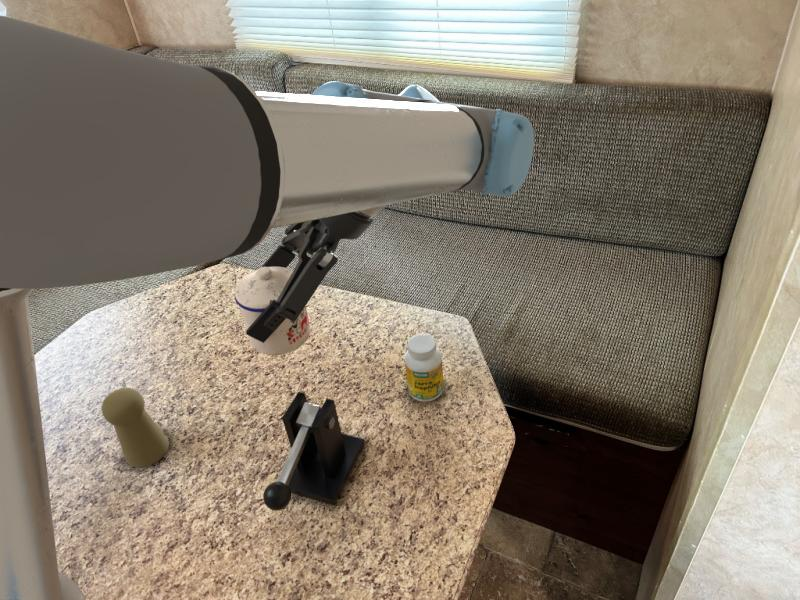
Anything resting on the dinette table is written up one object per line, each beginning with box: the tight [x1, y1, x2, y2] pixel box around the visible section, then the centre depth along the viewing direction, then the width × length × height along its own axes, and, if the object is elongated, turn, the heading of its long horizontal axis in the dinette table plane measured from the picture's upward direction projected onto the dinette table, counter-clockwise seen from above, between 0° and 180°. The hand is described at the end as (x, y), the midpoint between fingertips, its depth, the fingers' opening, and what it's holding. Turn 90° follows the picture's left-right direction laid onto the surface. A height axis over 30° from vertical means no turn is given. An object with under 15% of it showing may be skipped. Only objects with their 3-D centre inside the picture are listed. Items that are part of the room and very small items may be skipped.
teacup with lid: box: [234, 266, 312, 356], centre depth 84 cm, size 12×9×12 cm
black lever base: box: [281, 391, 366, 506], centre depth 78 cm, size 10×8×12 cm
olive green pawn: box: [101, 387, 170, 468], centre depth 83 cm, size 6×6×11 cm
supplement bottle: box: [404, 333, 445, 403], centre depth 88 cm, size 5×5×10 cm
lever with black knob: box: [262, 402, 322, 512], centre depth 73 cm, size 13×3×3 cm, turn 160°
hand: (259, 307), depth 85 cm, fingers closed on teacup with lid, 12 cm apart
